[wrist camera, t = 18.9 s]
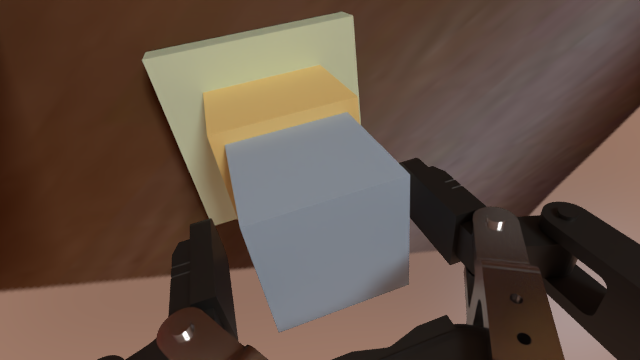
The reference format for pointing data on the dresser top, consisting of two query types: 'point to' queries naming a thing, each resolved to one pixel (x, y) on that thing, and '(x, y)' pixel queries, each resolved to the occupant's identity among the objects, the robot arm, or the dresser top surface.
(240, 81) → the plate
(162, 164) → the dresser top surface
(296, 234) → the grey cube
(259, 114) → the ochre brick
